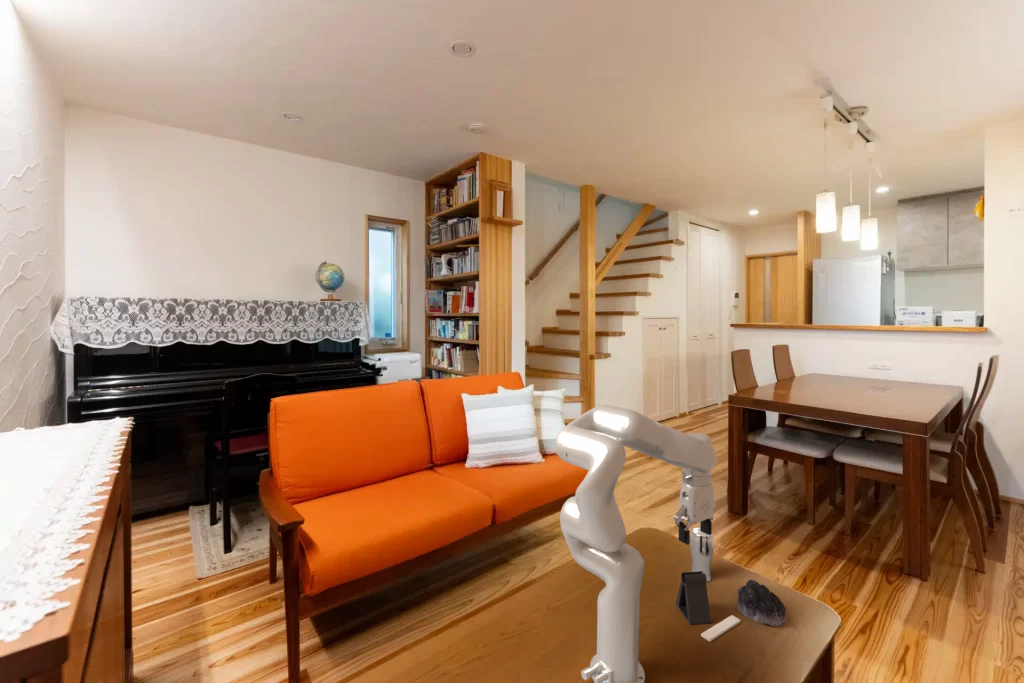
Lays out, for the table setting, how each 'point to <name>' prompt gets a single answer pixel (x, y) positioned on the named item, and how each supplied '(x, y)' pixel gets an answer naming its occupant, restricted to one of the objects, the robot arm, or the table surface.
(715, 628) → the cream panel
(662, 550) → the table surface
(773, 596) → the black rock
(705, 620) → the phone stand
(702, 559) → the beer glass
